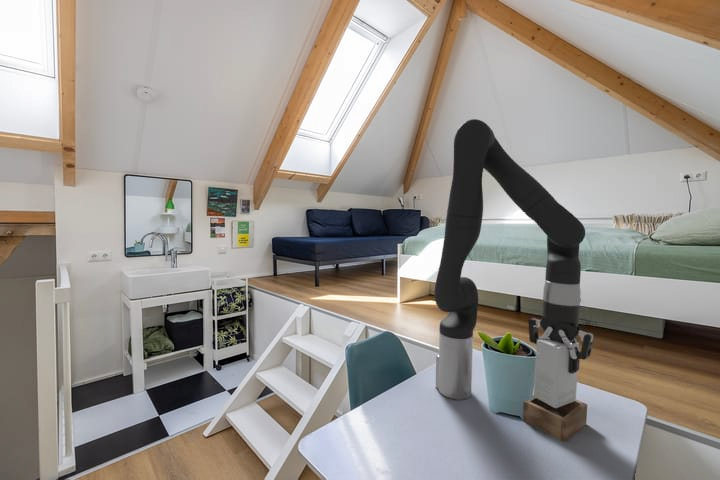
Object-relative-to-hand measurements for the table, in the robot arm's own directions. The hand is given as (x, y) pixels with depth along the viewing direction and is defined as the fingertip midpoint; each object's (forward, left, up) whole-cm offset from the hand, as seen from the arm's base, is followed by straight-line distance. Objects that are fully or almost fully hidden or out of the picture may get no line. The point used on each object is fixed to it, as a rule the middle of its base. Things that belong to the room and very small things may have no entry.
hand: (556, 366), depth 77 cm
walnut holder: (0, -1, -14) cm, 14 cm away
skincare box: (0, -1, -9) cm, 9 cm away
